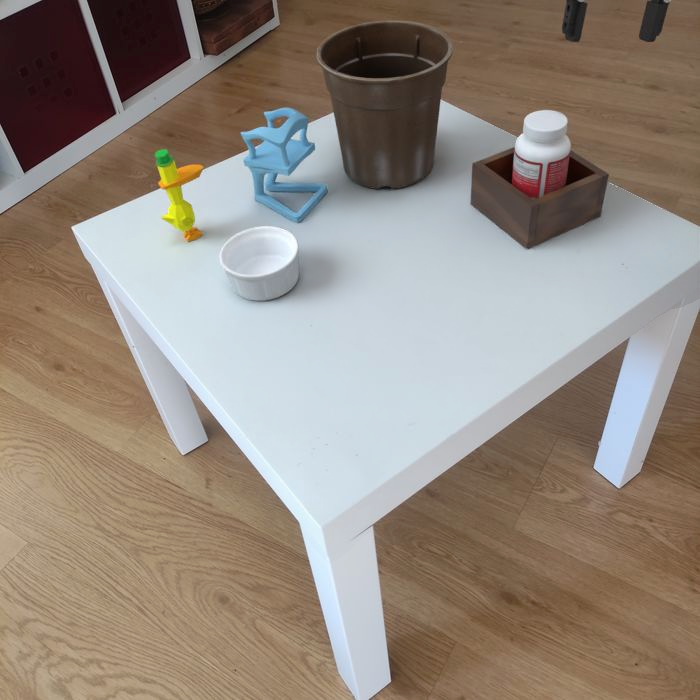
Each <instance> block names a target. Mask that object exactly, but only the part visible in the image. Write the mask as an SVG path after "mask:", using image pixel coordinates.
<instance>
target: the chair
mask: <svg viewBox="0 0 700 700" xmlns="http://www.w3.org/2000/svg"><path fill="white" fill-rule="evenodd" d="M263 114H264V117H265V119H266V121H267V126H260V127H256V128H254V129H251V130H249V131H241V132H240V136H241V137H242V140H243V141H244V143H245V144H246V146H247V149H248V155H246V156H245V158H244V159H243V165H244V167H247V168H248V169H249V170H250V172H251V176H252V182H253V192H254V201H257V202H258V203H261V204H263V205H265V206H266V207H268V208H269V209H271V210H274V211H275V212H277V213H278V214H280V215H281V216H283V217H285V218H286V219H288V220H290V221H292V222H294V223H301V222H302V221H303V220H304V219H305V217H306V216H308V215H309V213H310V212H311V211H312V210H313V209H314V208H315V207H316V206H317V205H318V204H319V203H320V201H321V200H322V199H323V198H324V197H325V196H326V195H327V193H328V191H329V187H328V184H326V183H321V182H317V183H316V182H287V181H286V182H285V181H284V182H283V181H276V180H277V178H278V175H283V176H287V177H289V176H290V175H292V173H294V171H296V169H297V168H298V167H299V165H300V164H301V163H302V162H303V161H304V160H305V159H306V158H308V157H309V156H310V155H312V153H314V151H315V150H316V144H315V142H313V141H312V142H311V141H309V140H308V137H307V131H308V126H309V117H307V116H306V115H304V114H303V113H301V112H300V111H299V110H297V109H295V108H291V107H281V108H278V109H274V110H271V111H264V112H263ZM281 117H284V118H285V117H286V118H288V119H286V121H285V122H284V123H283V124H282V125H281V126H280V127H277V128H275V124H274V120H275V119H278V118H281ZM298 132H300V134H299V135H300V136H299V140H298V139H293V138H292V137H294V135H296V134H297V133H298ZM251 140H262V141H263V142H261V143H260V145H259V146H257V147H255V145H254V143H253V142H252V141H251ZM265 175H267V176H266V178H265ZM265 191H269V192H282V193H283V192H286V193H289V192H290V193H291V192H292V193H293V192H296V193H297V192H298V193H300V192H302V193H303V192H306V193H307V192H308V193H310V192H311V193H312V192H313V193H314V195H312V197H311V198H310V199H309V200H308V201H307V202H306V203H305V204H304V205H303V206H302V207H301V208H300V210H298V211H297V212H295V211H293V210H292V209H290V208H289V207H287V206H286V205H284V204H282V202H280V201H279V200H277V199H275V198H274V197H272V196H271V195H269V194H267V193H265ZM315 192H316V193H315Z"/></svg>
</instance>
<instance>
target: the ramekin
mask: <svg viewBox="0 0 700 700" xmlns="http://www.w3.org/2000/svg"><path fill="white" fill-rule="evenodd" d="M299 247H300V246H299V242H298V239H297V238H296V236H295V234H294V233H292V232H291V231H289V230H287V229H285V228H282V227H279V226H271V225H261V226H255V227H251V228H247V229H244V230H241V231H239V232H237V233H236V234H234V235H233V236H231V237H230V238H228V240H226V242H225V243H224V244H223V245H222V247H221V249H220V252H219V255H218V259H219V263H220V265H221V267H222V269H223V270H224V272H225V274H226V277H227V279H228V282H229V284H230V285H231V286H230V287H231V289H232V290H233V291H234V292H235V294H236V295H238V296H239V297H241V298H243V299H246V300H250V301H257V302H258V301H261V302H263V301H270V300H273V299H277V298H280V297H282V296H284V295H285V294H287V293H288V292H290V291H291V290H292V289H293V288H294V287H295V286H296V284H297V283H298V280H299V276H300V263H299V253H300V252H299V251H300V250H299Z"/></svg>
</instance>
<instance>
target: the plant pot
mask: <svg viewBox="0 0 700 700" xmlns="http://www.w3.org/2000/svg"><path fill="white" fill-rule="evenodd" d="M453 49H454V43H453V40H452V39H451V38H450V36H449V35H448V34H447V33H446V32H444V31H442V30H441V29H439V28H437V27H434V26H432V25H429V24H426V23H422V22H417V21H411V20H410V21H409V20H376V21H367V22H363V23H357V24H354V25H350V26H347V27H345V28H342V29H340V30H338V31H336V32H334V33H332V34H331V35H329V36H327V37H326V38H325V39H324V40H323V41H322V42H321V43H320V45H319V46H318V47H317V49H316V59H317V63H318V65H319V66H320V68H321V69H322V73H323V77H324V78H323V79H324V82H325V83H324V84H325V87H326V89H327V91H328V93H329V95H330V96H329V97H330V100H331V107H332V111H333V117H334V122H335V127H336V131H337V138H338V144H339V149H340V154H341V159H342V165H343V170H344V172H345V174H346V176H347V177H348V178H349V179H350V180H352V181H353V182H354V183H357V184H358V185H361V186H363V187H367V188H370V189H376V190H378V189H381V188H382V187H389V188H391V189H394V190H396V189H402V188H405V187H408V186H411V185H414V184H417V183H418V182H420V181H422V180H423V179H424V178H426V177H427V176H428V175H429V174H430V173H431V172H432V170H433V168H434V164H435V163H434V162H435V153H436V146H437V145H436V143H437V134H438V127H439V117H440V108H441V102H442V101H441V99H442V91H443V87H444V85H445V83H446V79H447V72H448V64H449V60H450V59H451V57H452V56H453V51H454V50H453Z"/></svg>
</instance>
